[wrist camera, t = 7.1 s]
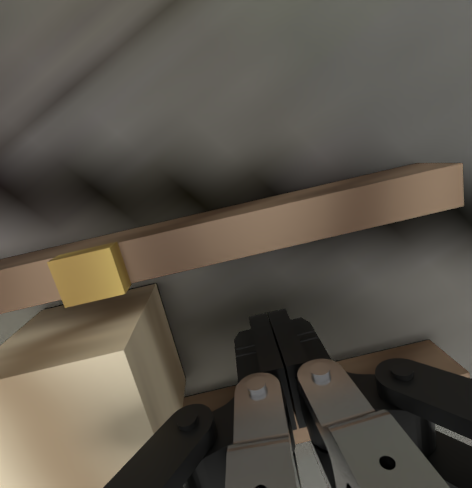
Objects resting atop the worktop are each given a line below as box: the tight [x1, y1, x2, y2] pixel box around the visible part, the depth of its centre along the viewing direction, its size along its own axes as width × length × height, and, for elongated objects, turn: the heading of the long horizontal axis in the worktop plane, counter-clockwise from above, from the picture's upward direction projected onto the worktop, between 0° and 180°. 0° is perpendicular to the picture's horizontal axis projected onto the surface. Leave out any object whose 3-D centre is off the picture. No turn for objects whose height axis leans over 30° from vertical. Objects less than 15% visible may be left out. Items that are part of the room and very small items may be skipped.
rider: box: [0, 284, 186, 488], centre depth 12 cm, size 5×5×5 cm
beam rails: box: [0, 163, 470, 444], centre depth 13 cm, size 22×10×3 cm, turn 103°
